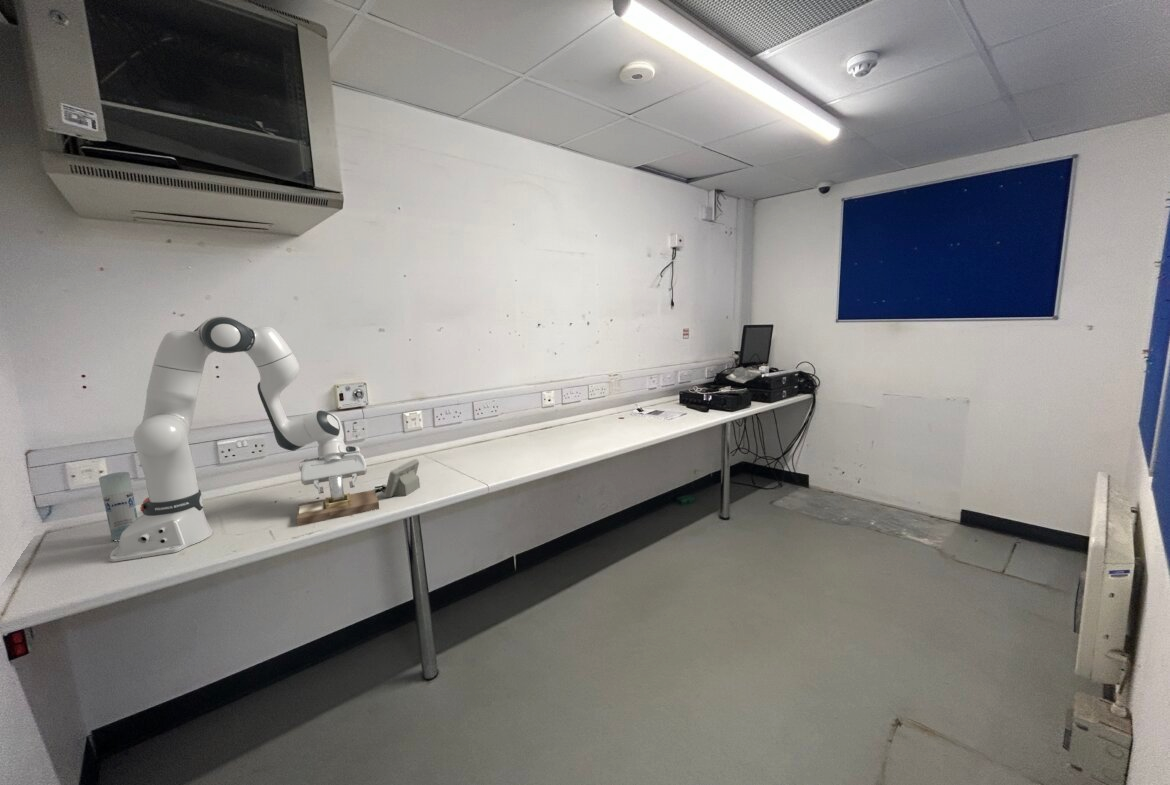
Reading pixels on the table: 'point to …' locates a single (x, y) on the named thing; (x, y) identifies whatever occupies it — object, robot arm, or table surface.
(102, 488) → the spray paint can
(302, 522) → the wooden peg board
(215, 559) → the table surface
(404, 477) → the digital clock
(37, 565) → the table surface
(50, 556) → the table surface
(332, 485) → the steel pin
